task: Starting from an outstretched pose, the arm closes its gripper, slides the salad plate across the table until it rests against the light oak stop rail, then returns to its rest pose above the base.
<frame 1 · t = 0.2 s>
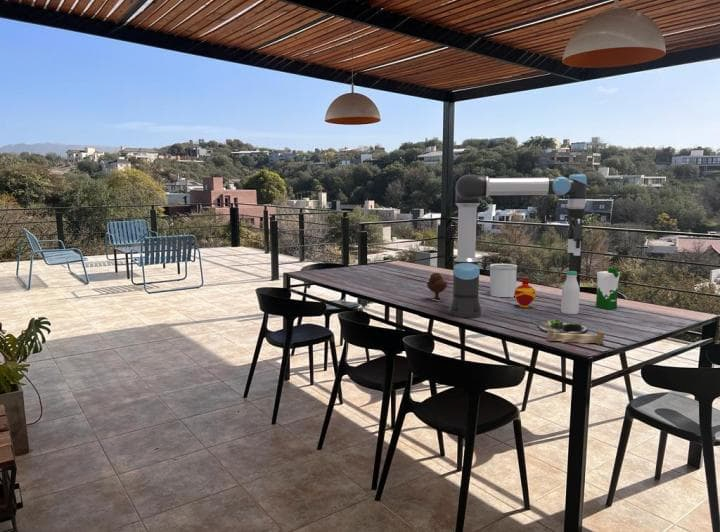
hand: (573, 254, 234), 28 cm above the table, tool pointing down, fingers open, 13 cm apart
potion bottle: (524, 307, 252), on the table
stop rail: (574, 342, 187), on the table
milk carton: (606, 308, 251), on the table
milk bottle: (569, 313, 238), on the table
utensil holder: (502, 296, 282), on the table
salad plate: (563, 331, 204), on the table
ice cream bowl: (436, 300, 268), on the table
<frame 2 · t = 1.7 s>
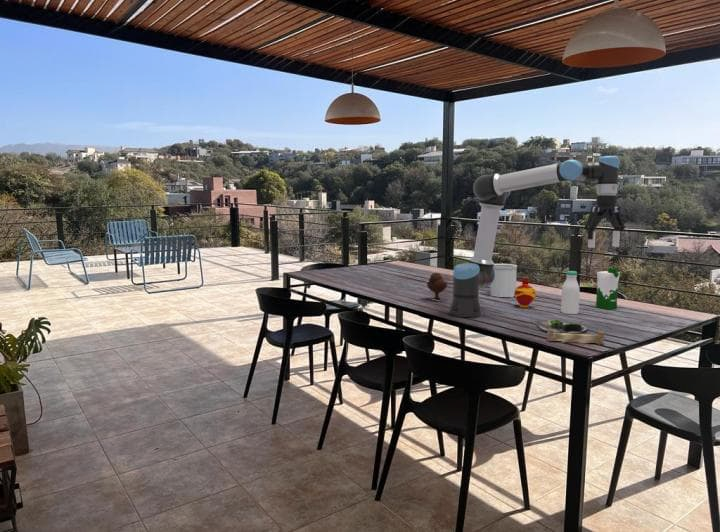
hand: (603, 247, 206), 34 cm above the table, tool pointing down, fingers open, 13 cm apart
nothing on the table moved.
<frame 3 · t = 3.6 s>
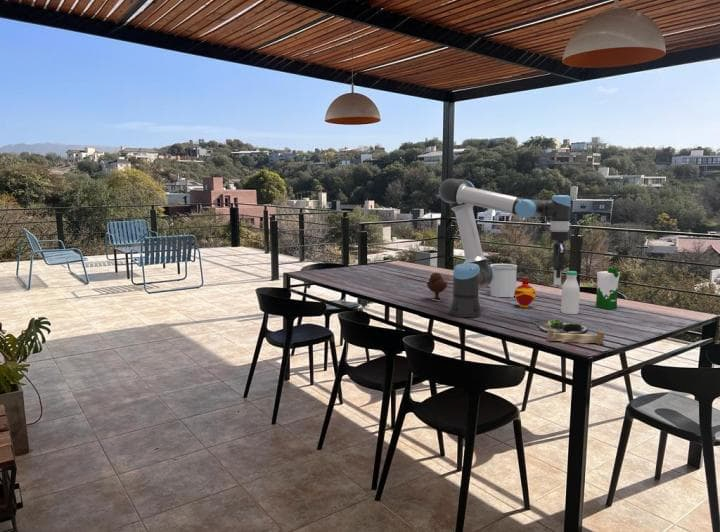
hand: (557, 284, 220), 16 cm above the table, tool pointing down, fingers closed
nothing on the table moved.
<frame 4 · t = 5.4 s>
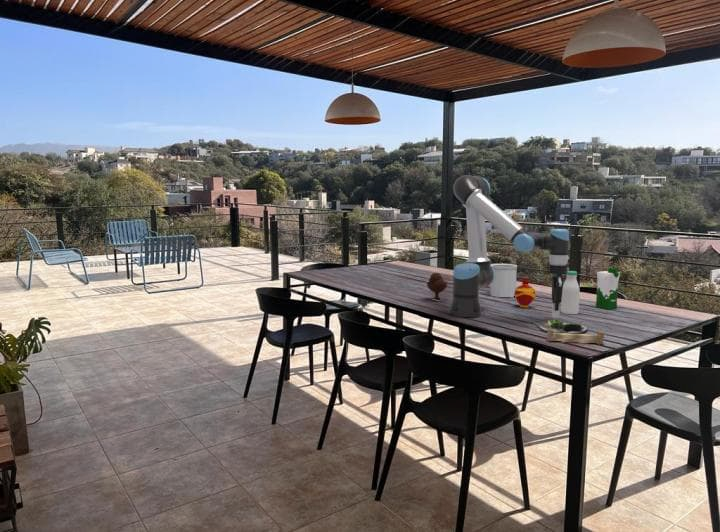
hand: (555, 317, 221), 2 cm above the table, tool pointing down, fingers closed
nothing on the table moved.
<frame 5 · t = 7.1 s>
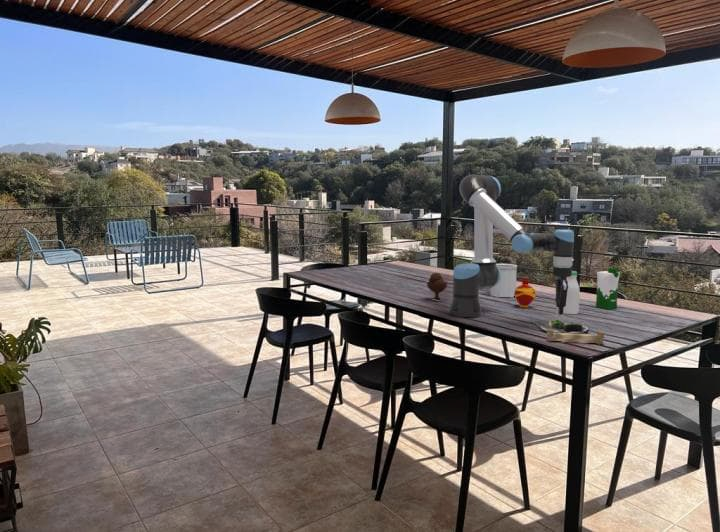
hand: (559, 321, 213), 2 cm above the table, tool pointing down, fingers closed
salad plate: (564, 332, 203), on the table
everything else where it was.
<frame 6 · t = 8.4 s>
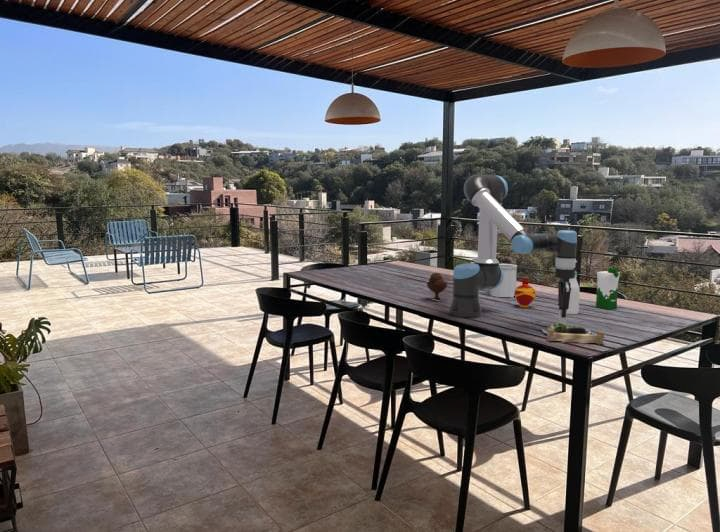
hand: (562, 324, 208), 2 cm above the table, tool pointing down, fingers closed
salad plate: (567, 335, 198), on the table, touching gripper
everything else where it was.
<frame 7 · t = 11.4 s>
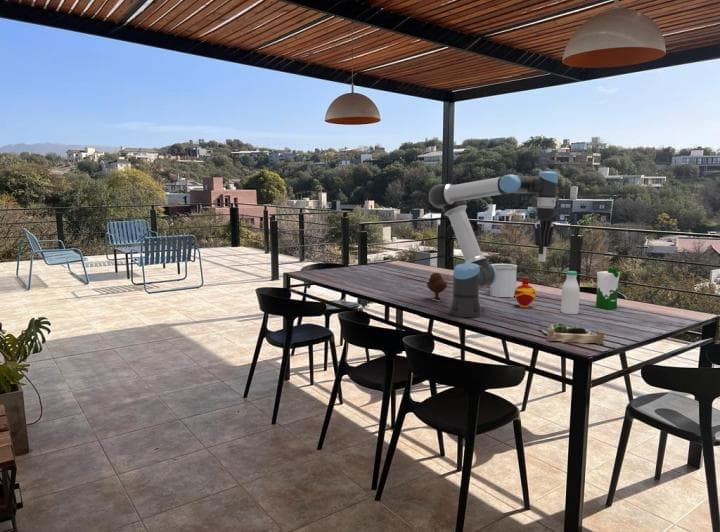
hand: (541, 261, 221), 26 cm above the table, tool pointing down, fingers closed
salad plate: (567, 336, 198), on the table
everything else where it was.
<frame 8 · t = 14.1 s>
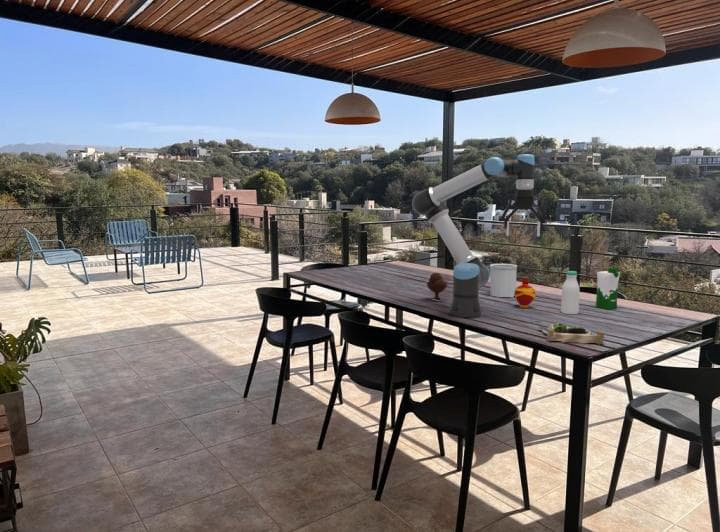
hand: (522, 236, 230), 37 cm above the table, tool pointing down, fingers open, 13 cm apart
nothing on the table moved.
at the end: salad plate inside the target area (0.8 cm from its centre), on the table; salad plate moved 6.7 cm from its start; salad plate tilted 0° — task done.
